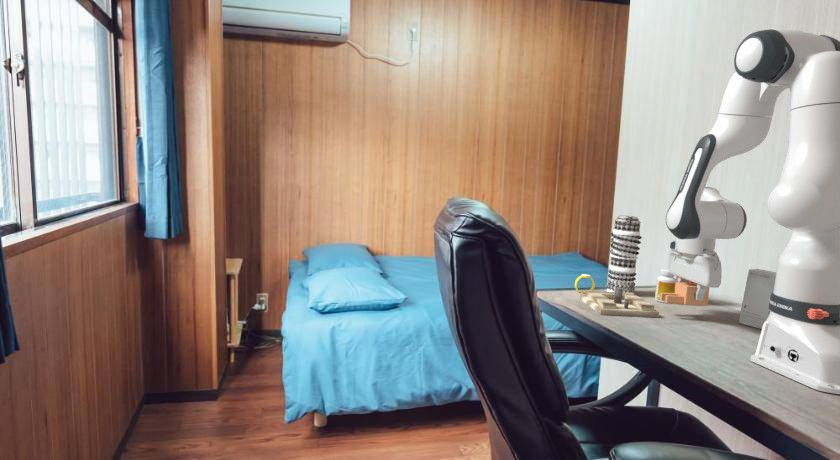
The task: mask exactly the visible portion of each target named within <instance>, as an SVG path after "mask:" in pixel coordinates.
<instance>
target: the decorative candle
mask: <svg viewBox="0 0 840 460" xmlns="http://www.w3.org/2000/svg"><path fill="white" fill-rule="evenodd" d="M641 223H642V222H641V221H640V219H639V218H638V217H637V216H632V215H631V216H630V215H618V216H617V217H616V219H614V229H613V231H612V232H610V235H611V237H612V238H611V239H610V242H611V243H610V247H611V249H610V250H609V253H610V255H609V256H610V264H609V269H608V273H609V274H607V277H608V279H607V280H606V281H607V284H606V288H607V289H606V291H605V292H615V288H620V289H623V292H624V293H632V294H634V295H635V292H634V291H635V286H636V282H634V281H637V280H636V277H635V276H637V273H636V271H637V267H636V265H637V260H638V259H639V257H638V255H639V254H640V252H639V250H640V249H641V247H639V246H638V245H639V244H641V243H642V242H641V239H643V237H642V236H641V231H640V230H641V229H640V228H641Z"/></svg>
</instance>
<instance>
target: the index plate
mask: <svg viewBox="0 0 840 460" xmlns="http://www.w3.org/2000/svg"><path fill="white" fill-rule="evenodd" d="M584 292H585V293H584V294H583V293H579V294H580V295H579V300H580V301H581V302H582V303H584V304H585V305H587V306H588V307H589V308H591V309H592V310H594V312H596V313H597V314H599V315H600V316H601V315H602V316H618V315H621V316H622V317H638V316H641V317H642V318H659V316H660V311H658V310H656V309H655V305H654V304H653V303H651V302H648V301H647V300H645V299H643V298H641V297H640V296H639V295H636V294H635V293H634V294H632V293H624V292H623V289H620V288H615V292H607V291H605V290H603V291H602V290H601V291H599V290H593V291H589V290H584ZM621 316H620V317H621ZM641 317H640V318H641Z"/></svg>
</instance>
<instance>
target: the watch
mask: <svg viewBox="0 0 840 460" xmlns="http://www.w3.org/2000/svg"><path fill="white" fill-rule="evenodd" d="M582 278H585V279H590V281H591V283H592V284H591V285H592V286H591V287H590V289H589V290H588V291H594V289H595V287H596V283H595V280H594V278H593V277H591V275H590V274H586V273H581V275H579V276H578V277H577V278H576V279H575V280H574V281H575V282H574V287H575V288H574V289H575V290H576V291H577V292H578V293H579V294H585V290H583V291H581V290H579V289H578V282H579V281H580V280H581V279H582Z"/></svg>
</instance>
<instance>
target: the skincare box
mask: <svg viewBox="0 0 840 460" xmlns="http://www.w3.org/2000/svg"><path fill="white" fill-rule="evenodd" d="M776 272H777V271H771V270H765V269H761V268H760V269H759V268H751V269H748V272H747V277H746V281H745V282H746V283H745V288H744V293H743V297H742V303H741V308H740V312H739V319H738V323H739V324H741V325H745V326H749V327H753V328H756V329H760V330H762V327H763V324H764V322H765V321H766V320H767V318H768V316H769V314H770V309H769V298H770V296H771V293H773V292H774V285H775V279H776Z"/></svg>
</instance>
